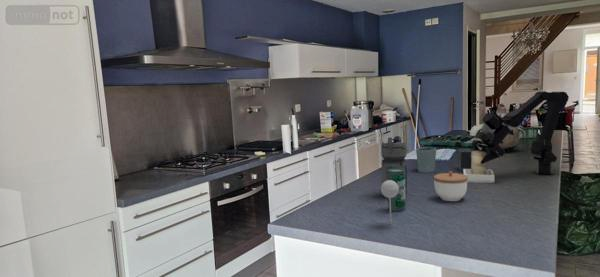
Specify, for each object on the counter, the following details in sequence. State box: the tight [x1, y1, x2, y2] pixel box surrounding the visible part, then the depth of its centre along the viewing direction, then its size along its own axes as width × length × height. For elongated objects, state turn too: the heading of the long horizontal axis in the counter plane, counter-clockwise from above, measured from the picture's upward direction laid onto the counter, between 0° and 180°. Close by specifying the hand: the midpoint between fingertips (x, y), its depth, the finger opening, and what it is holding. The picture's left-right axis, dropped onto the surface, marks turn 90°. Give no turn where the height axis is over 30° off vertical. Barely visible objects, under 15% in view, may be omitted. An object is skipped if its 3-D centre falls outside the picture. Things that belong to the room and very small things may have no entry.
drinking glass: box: [415, 146, 437, 174], centre depth 216 cm, size 10×10×12 cm
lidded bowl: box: [433, 170, 468, 202], centre depth 164 cm, size 13×13×11 cm
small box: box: [456, 148, 473, 173], centre depth 214 cm, size 11×6×10 cm, turn 168°
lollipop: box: [380, 180, 399, 225], centre depth 139 cm, size 6×6×15 cm
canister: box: [471, 150, 486, 175], centre depth 192 cm, size 6×6×12 cm
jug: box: [477, 102, 525, 151], centre depth 259 cm, size 24×21×30 cm
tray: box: [462, 168, 495, 184], centre depth 193 cm, size 13×13×4 cm
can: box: [387, 168, 407, 212], centre depth 155 cm, size 6×6×15 cm
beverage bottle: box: [380, 135, 408, 196], centre depth 174 cm, size 10×13×25 cm
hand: (475, 161), depth 192 cm, fingers open, 9 cm apart
